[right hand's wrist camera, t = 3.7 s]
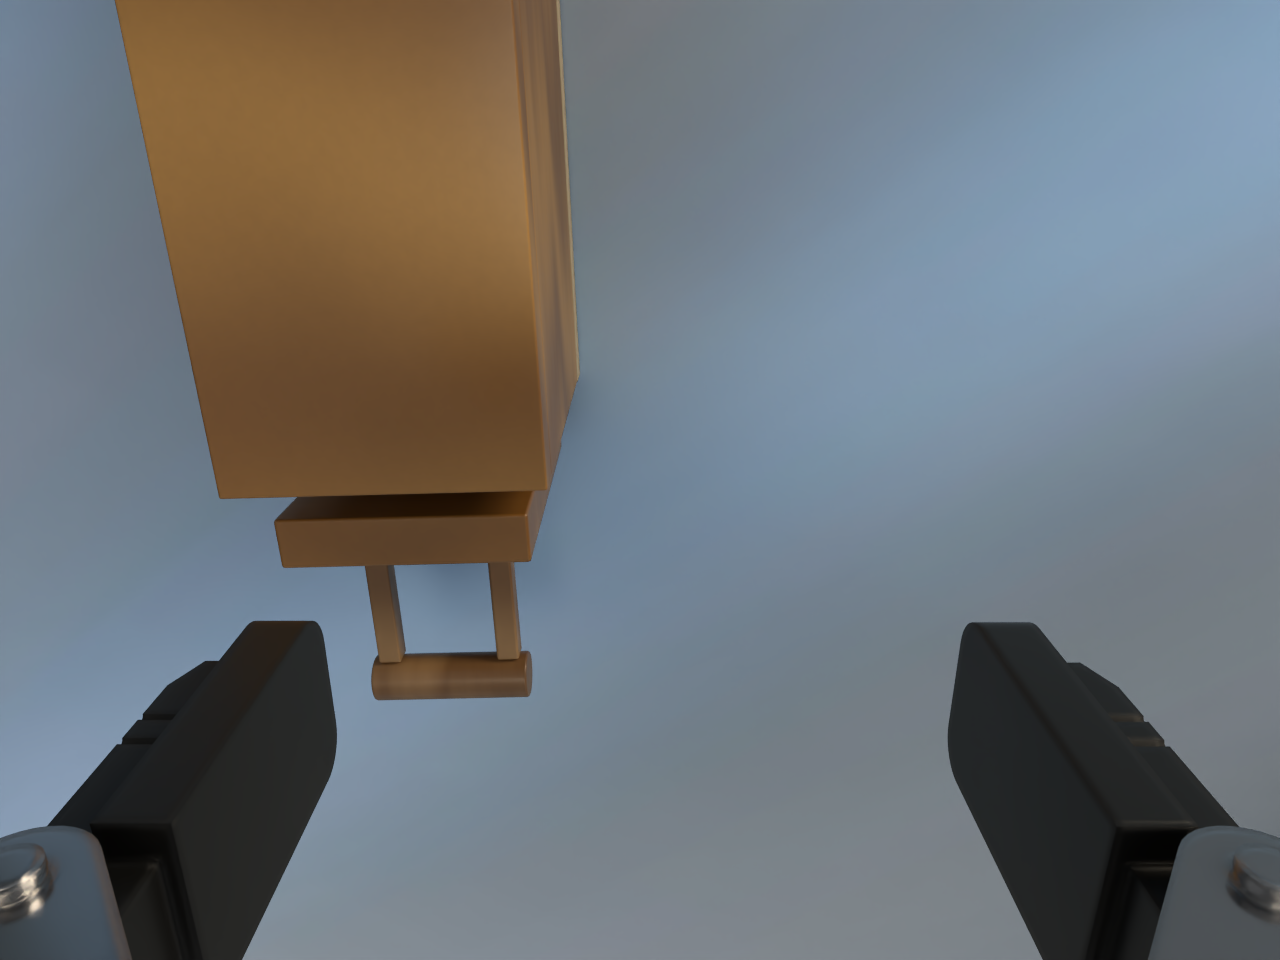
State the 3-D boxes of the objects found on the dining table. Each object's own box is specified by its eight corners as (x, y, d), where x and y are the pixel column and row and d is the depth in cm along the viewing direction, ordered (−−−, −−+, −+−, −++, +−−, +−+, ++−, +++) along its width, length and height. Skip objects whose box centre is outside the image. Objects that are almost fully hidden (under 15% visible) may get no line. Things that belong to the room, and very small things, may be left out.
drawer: (571, 602, 30) (547, 760, 22) (400, 607, 30) (318, 766, 22) (514, -302, 21) (443, -544, 14) (275, -292, 21) (73, -528, 14)
